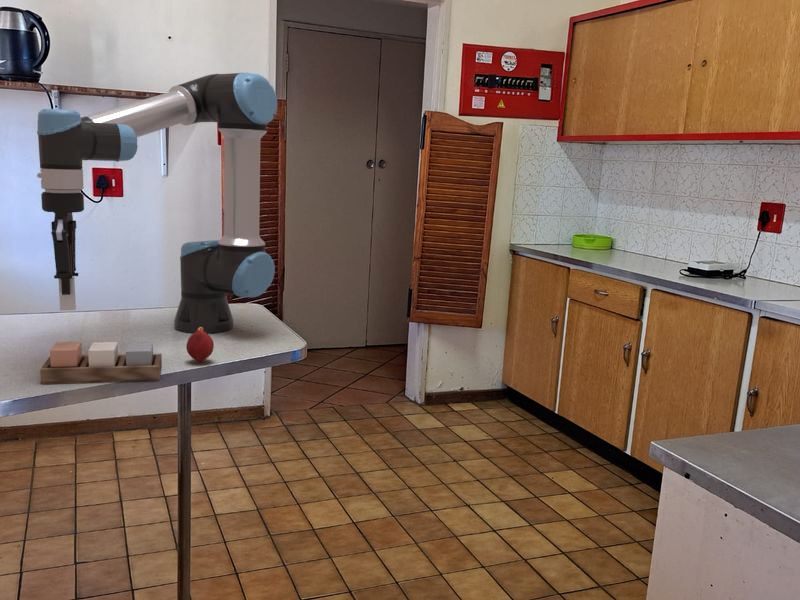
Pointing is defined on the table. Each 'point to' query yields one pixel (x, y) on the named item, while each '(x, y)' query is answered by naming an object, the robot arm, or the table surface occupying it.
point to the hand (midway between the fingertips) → (68, 309)
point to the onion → (200, 345)
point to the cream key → (103, 354)
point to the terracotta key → (66, 354)
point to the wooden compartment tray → (101, 372)
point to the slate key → (139, 354)
